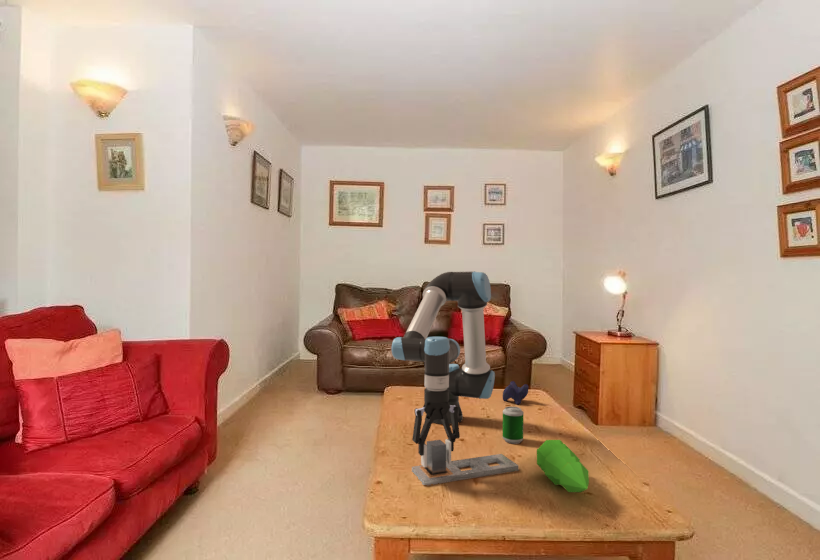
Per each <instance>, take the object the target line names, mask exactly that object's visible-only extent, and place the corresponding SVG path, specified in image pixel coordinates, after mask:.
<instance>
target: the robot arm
mask: <svg viewBox="0 0 820 560" xmlns="http://www.w3.org/2000/svg"><path fill="white" fill-rule="evenodd" d="M491 292H492V288H491V283H490V279H489V276H488V274H486V272H483V271H482V272H481V271H447V272H443V273H441V274H439V275H437V276H436V277H434V278H433V279H432V280H430V282H428V284H427V285H426V286H425V288H424V289H423V292H422V300H421V301H420V303H419V305H418V308H417V310H416V311H415V314H414V315H413V318H412V319H411V321H410V324H409V325H408V327H407V330H406V331H405V333H404V335H403V337H402V336H398V337H395V338H393V340H392V342H391V343H392V344H391V355H392V357H393V358H394V359H395V360H400V361H409V362H424V382H423V383H424V386H423V387H424V392H423V395H424V398H423V401H424V404H423V405H422V407H419V408H415V409H414V416H415V417H414V425H413V432H412V441H413V442H414V443H415V444H416V445H418V448H417V449H418V455H419V456H420V464H421V465H423V466H424V467H427V443H426V442H427V437H428V435H429V432H430V429H431V427H432V424H439V425H442V426H443V429H444V431H445V435H446V437H447V438H448V439H447V438H445V440H444V441H445V442H444V443H445V444H446V462H447V463H449V464H451V461H452V452H454V447H455V445H454V444H455V442H456V440H457V439H460V437H461V436H460V435H461V434H460V428H459V427H460V426H459V423H462V422H463V419H464V418H463V417H464V415H463V411H462V407H461V404H460V402H459V401H460V397H463V398H473V399H479V400H481V399H485V400H487V399H488V400H489V399H490V398H491V397H492V394H493V391H494V385H495V377H496V374H495V371H493V370H492V369H491V365H490V364H489V363H488V362H487V358H486V357H487V354H486V353H487V352H486V337H485V336H486V335H485V334H486V333H485V317H484V316H485V315H484V314H485V313H484V312H485V311H484V309H485V308H486V307H487V306H488V303H489V302H490V301H491V299H492V293H491ZM448 301H449V302H450V301H451V302H453V301H454V302H457V308H459V309H460V310H461V315H462V318H461V319H462V332H463V334H462V335H463V346H464V361H465V362H464V364H462V366H461V368H460V365H459V364H458V363H453V362H455V361H456V360H457V359H458V358H459V356H460V354H461V347H460V344H459V343H458V342H457V341H456V340H455V339H453V338H448V337H446V336H429V334H430V331H431V330H432V326H433V325H434V322H435V320H436V318H437V316H438V314H439V311H440V309H441V307H443V306H444V305H445V304H446V303H447V302H448ZM424 413H425V417H424V421H422V420H423V416H424ZM422 423H423V426H422ZM450 425H451V426H450Z"/></svg>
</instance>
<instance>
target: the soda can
mask: <svg viewBox="0 0 820 560" xmlns="http://www.w3.org/2000/svg"><path fill="white" fill-rule="evenodd" d="M502 439H503V440H504V441H505V442H506V443H508V444H512V445H514V444H515V445H517V444H520V443H521V442H522V441H523V440H524V411H523V410H522V408H520V407H519V406H506V407H505V408H504V409H503V410H502Z"/></svg>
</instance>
